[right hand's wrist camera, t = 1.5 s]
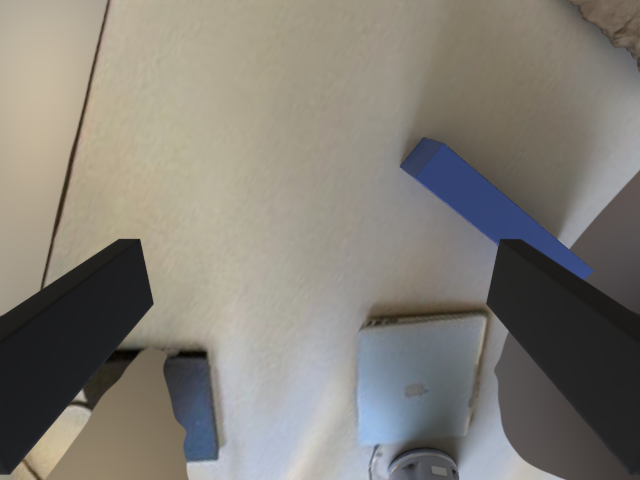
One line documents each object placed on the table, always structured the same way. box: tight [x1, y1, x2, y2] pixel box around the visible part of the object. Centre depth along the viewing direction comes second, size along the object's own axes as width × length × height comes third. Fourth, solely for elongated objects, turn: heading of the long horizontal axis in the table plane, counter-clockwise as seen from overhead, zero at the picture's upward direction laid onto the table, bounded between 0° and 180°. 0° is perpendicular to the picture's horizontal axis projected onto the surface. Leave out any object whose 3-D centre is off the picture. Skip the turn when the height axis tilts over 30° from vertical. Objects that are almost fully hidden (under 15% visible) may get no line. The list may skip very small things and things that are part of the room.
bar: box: [400, 138, 593, 280], centre depth 50 cm, size 30×5×9 cm, turn 54°
